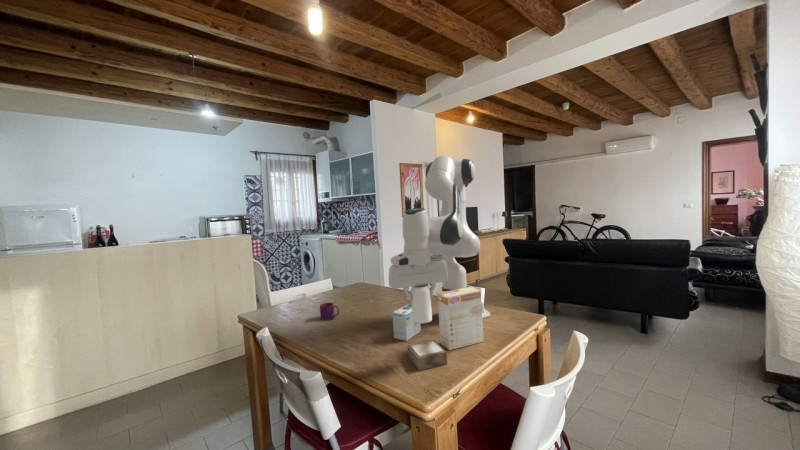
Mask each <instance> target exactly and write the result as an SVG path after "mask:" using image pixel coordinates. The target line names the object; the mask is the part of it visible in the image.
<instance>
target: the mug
mask: <svg viewBox="0 0 800 450" xmlns="http://www.w3.org/2000/svg"><path fill="white" fill-rule="evenodd" d="M335 308H336V309H337V313H336V314H335ZM319 313H320V314H319V315H320V320H321V321H325V322H326V320H327V321H331V320H334V319H335V317H337V316H339V314H340V308H339V307H338V305H334V303H333V302H324V303H322V304H319Z"/></svg>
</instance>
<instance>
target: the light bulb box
mask: <svg viewBox="0 0 800 450" xmlns="http://www.w3.org/2000/svg"><path fill="white" fill-rule="evenodd" d="M391 315H392V326H393V328H392V329H393V337H394V339H397V340H401V341H405V342H407V341H409V340H410V339H412V338H413V337H415V336H416V335H418V334H419V333H421V331H422V329H421V324H418V323H415V322H414V321H413V314H412V304H411V305H410V304H405V305H403V306H402V307H400V308H398V309H396V310H394V311H392V314H391Z"/></svg>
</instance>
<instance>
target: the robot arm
mask: <svg viewBox="0 0 800 450" xmlns="http://www.w3.org/2000/svg"><path fill="white" fill-rule="evenodd" d="M475 176H476V165H475V163H474V162H473V160H472V159H469V158H463V159H460V158H459V159H458V158H457V159H455V158H454V159H453V158H451V157H450V156H448V155H439V156H437V157H436V158H435V159H434V160H433V162H431V163H429V164H428V165H427V166H426V168H425V182H424V186H425V187H424V188H425V190H426V193H428V195H429V196H431V198H433V199H435V200H438V201H441V212H440V213H441V215H440V216H428V214H427V210H426V209H425V208H422V207H415V208H414V207H413V208H409V209H407V210H405V211H404V212H403V215H402V238H403V240H404V246H403V252H402V253H399V254H397V255H394V256H392V257H391V258H390V263H391V265H390V267H389V269H388V285H389V287H390V288H392V289H393V290H396V289H397V290H398V289H402V290H403V291H404V293H405V294H406V299H407V301H411V300H413V298H412V297H413V295H412V294H411V292H409V290H410V287H411V288H412V286H419V285H426V284H428V285H429V286H430V287H429V288H430V296H431V298H432V297H434V290H435V289H436V287H437V284H439V283H442V287H441V292H445V291H451V290H456V289H462V288H467V287H470V285H468V283H467V282H468V280H467V270H466V268H465V267H464V266H463V265H461V264H460V263H458V262H457V260H456V258H471V257H474V256H477V255H478V254H479V252H480V250H481V240H480V238H479V236H477V235H476V234H475V233H474V232H473V231H472V229H470V227H469V224H468V222H467V193H466V188H467V187H468V185H469V184H471V183H472V182H473V180H474V178H475ZM481 305H482V320H483V319H485V318H489V317H491V313H490V312H489V310H487V309H486V308H485V306H484V302H483V301H482V300H481Z"/></svg>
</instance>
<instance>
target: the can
mask: <svg viewBox="0 0 800 450" xmlns="http://www.w3.org/2000/svg"><path fill="white" fill-rule="evenodd" d="M410 293H411V294H412V295H413V297H412V298H413V300H410V301H411V306H412V314H413V321H414V322H415V323H418V324H420V325H421V324H422V325H424V324H428V323H430V322H432V320H433V312H432V311H433V310H432V300H431V299H432V297H431V296H430V287H429V284H426V285H419V286H412V287H411V289H410Z"/></svg>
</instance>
